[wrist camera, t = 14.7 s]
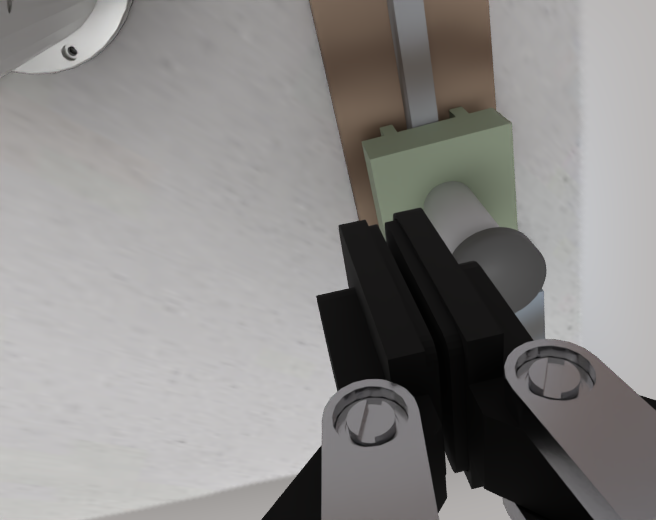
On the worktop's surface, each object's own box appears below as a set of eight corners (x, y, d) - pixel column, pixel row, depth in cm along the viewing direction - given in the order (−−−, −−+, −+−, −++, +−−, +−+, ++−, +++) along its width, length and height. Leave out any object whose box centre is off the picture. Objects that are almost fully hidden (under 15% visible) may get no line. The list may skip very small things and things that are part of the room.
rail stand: (504, 317, 47) (546, 384, 40) (387, 346, 47) (409, 418, 40) (459, -264, 27) (525, -325, 21) (261, -209, 28) (262, -251, 21)
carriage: (492, 212, 39) (583, 325, 28) (380, 241, 39) (427, 364, 28) (483, 100, 35) (585, 182, 24) (357, 133, 35) (402, 229, 24)
